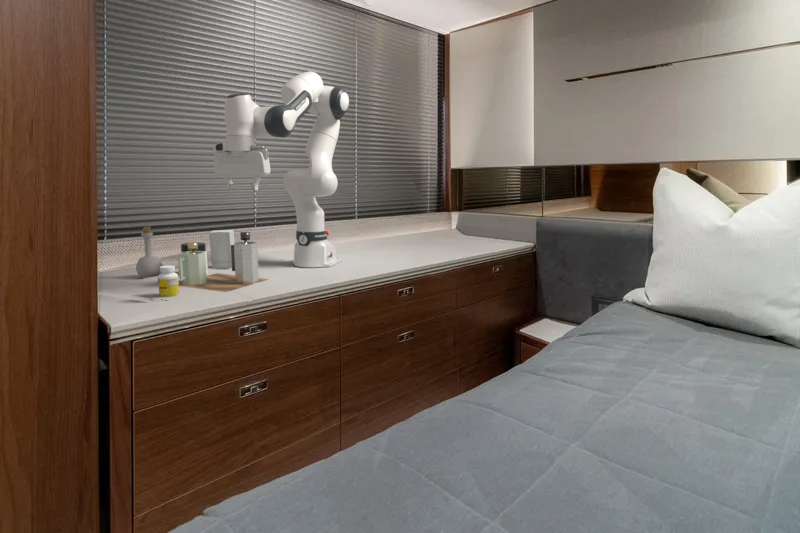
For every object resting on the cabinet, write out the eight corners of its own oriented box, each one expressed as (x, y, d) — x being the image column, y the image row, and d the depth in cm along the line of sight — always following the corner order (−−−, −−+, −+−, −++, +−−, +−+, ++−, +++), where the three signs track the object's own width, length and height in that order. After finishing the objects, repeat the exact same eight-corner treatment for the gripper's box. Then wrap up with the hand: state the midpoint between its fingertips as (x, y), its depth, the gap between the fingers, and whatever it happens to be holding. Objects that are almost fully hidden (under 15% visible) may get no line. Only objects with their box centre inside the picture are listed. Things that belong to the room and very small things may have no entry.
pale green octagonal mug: (195, 279, 168) (193, 250, 167) (211, 281, 166) (209, 251, 164) (172, 284, 160) (170, 254, 158) (189, 287, 157) (187, 256, 155)
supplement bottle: (156, 298, 147) (153, 266, 145) (173, 295, 151) (171, 264, 149) (165, 302, 143) (162, 268, 142) (183, 298, 148) (180, 266, 146)
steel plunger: (245, 263, 169) (244, 231, 167) (256, 264, 167) (255, 232, 165) (235, 265, 164) (234, 232, 162) (247, 267, 162) (246, 233, 160)
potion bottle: (169, 275, 180) (165, 226, 177) (151, 280, 172) (147, 228, 168) (149, 273, 182) (145, 225, 179) (130, 278, 174) (126, 227, 171)
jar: (211, 274, 183) (209, 242, 180) (204, 279, 175) (202, 245, 172) (186, 274, 182) (183, 242, 179) (178, 279, 174) (176, 245, 171)
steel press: (240, 277, 172) (238, 240, 170) (262, 280, 168) (261, 242, 166) (225, 281, 166) (223, 243, 163) (248, 284, 162) (246, 245, 160)
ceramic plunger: (194, 270, 166) (192, 241, 164) (205, 272, 164) (203, 242, 163) (183, 273, 162) (181, 242, 160) (194, 274, 160) (192, 243, 158)
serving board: (217, 276, 179) (217, 273, 179) (269, 282, 171) (269, 279, 170) (170, 288, 160) (170, 284, 160) (226, 295, 151) (226, 291, 151)
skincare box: (237, 266, 199) (235, 229, 196) (232, 269, 193) (230, 231, 190) (216, 266, 198) (214, 229, 196) (210, 269, 192) (208, 231, 190)
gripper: (273, 146, 157) (275, 190, 160) (223, 146, 165) (225, 188, 168) (260, 145, 151) (262, 190, 154) (209, 145, 159) (211, 189, 162)
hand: (243, 189), depth 161 cm, fingers open, 8 cm apart
